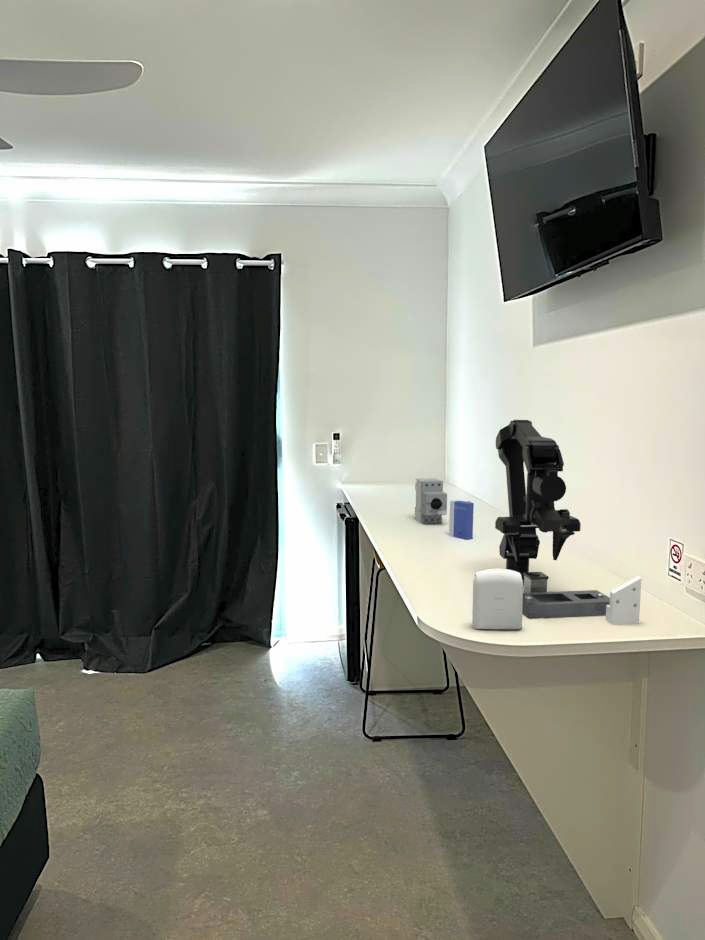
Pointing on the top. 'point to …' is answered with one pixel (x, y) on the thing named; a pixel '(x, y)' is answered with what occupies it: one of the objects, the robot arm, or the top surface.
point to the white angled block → (625, 603)
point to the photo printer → (497, 599)
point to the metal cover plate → (564, 604)
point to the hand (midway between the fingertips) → (536, 560)
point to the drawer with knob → (535, 582)
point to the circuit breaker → (430, 501)
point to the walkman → (461, 519)
